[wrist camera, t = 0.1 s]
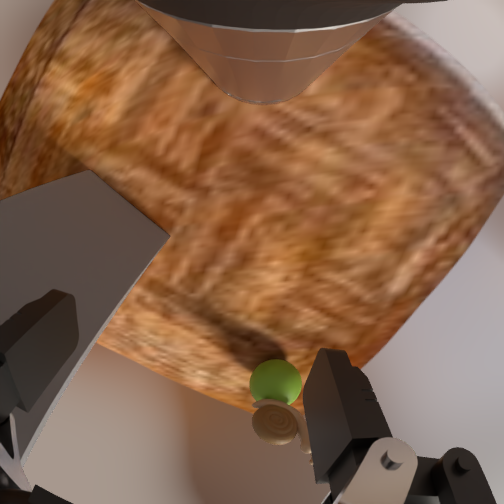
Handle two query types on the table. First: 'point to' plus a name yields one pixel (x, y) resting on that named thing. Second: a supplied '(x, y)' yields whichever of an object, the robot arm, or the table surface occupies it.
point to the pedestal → (70, 267)
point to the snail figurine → (278, 404)
